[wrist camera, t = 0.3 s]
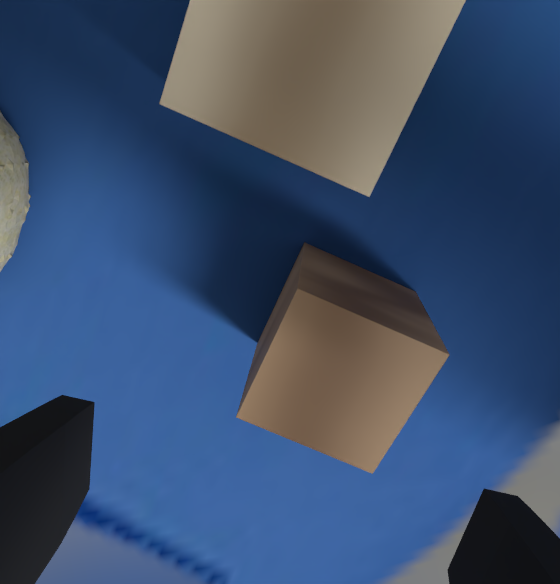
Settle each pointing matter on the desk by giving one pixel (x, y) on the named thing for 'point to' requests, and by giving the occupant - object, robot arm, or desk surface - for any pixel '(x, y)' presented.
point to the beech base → (309, 76)
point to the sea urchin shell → (11, 190)
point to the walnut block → (341, 360)
